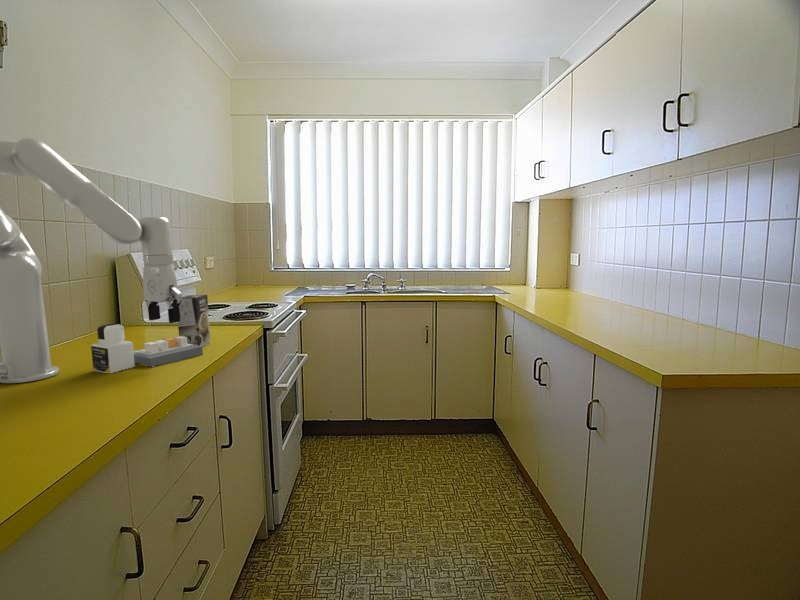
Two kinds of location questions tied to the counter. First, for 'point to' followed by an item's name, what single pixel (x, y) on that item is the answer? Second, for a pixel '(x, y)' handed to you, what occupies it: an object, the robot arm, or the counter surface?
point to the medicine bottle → (112, 350)
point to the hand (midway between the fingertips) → (164, 320)
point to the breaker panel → (166, 351)
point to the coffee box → (194, 319)
